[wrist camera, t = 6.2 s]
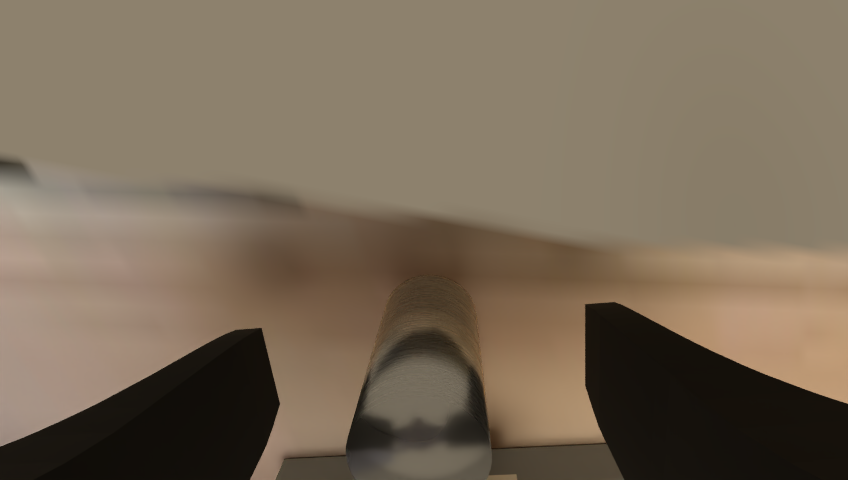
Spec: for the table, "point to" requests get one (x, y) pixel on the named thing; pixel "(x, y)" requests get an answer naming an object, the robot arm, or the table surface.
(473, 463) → the sliding block with knob
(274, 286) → the table surface
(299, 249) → the table surface
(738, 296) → the table surface
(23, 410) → the table surface
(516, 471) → the tunnel deck
